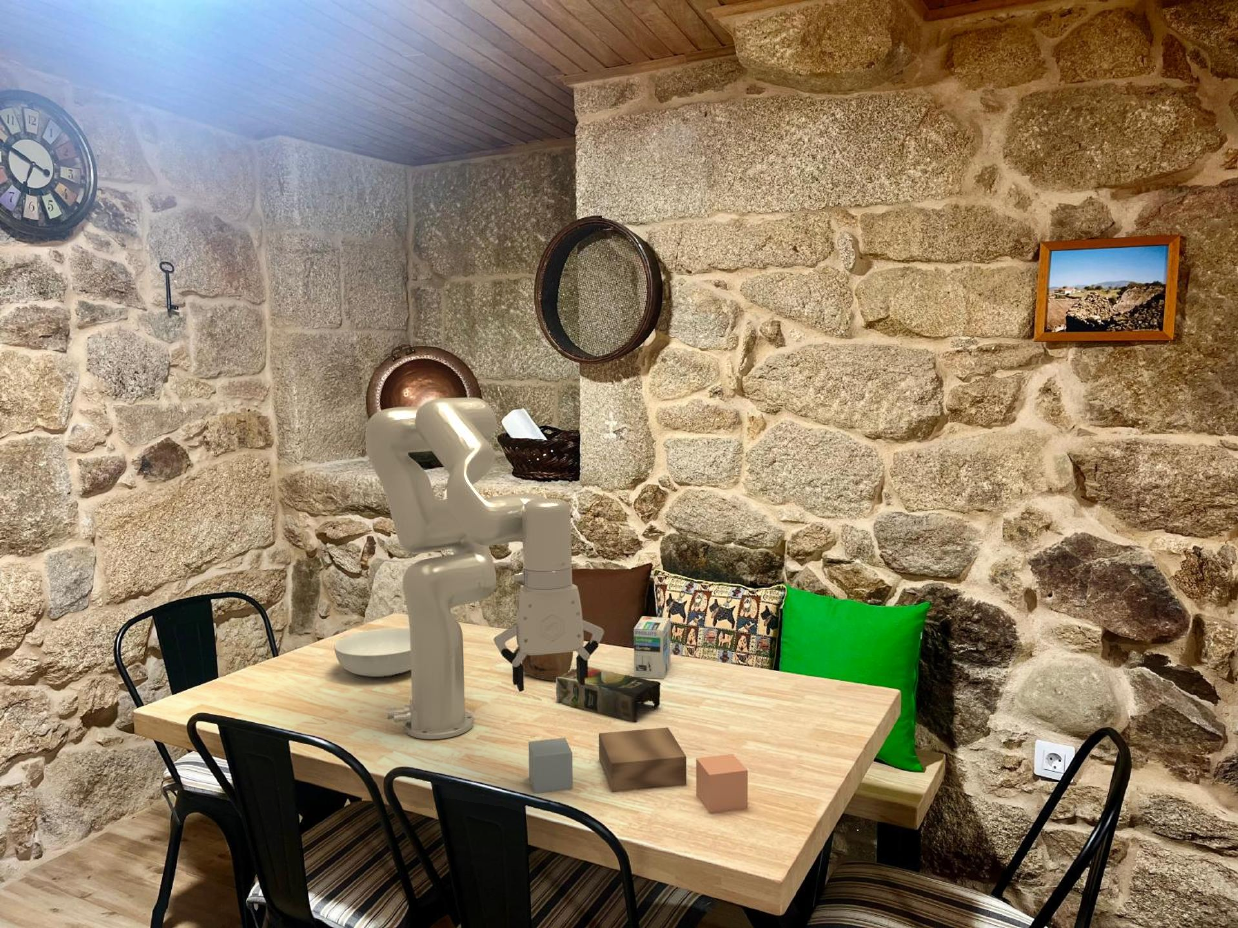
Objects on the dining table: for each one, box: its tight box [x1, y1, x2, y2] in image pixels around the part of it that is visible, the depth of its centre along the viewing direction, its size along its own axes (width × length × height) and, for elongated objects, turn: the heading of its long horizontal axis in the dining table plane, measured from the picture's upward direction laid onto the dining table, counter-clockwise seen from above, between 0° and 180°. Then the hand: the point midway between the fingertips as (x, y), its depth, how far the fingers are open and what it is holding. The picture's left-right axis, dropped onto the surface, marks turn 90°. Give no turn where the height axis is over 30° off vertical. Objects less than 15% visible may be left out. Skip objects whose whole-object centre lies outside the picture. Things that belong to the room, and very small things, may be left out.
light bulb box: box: [633, 615, 672, 680], centre depth 196 cm, size 11×7×11 cm, turn 168°
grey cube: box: [528, 737, 574, 794], centre depth 143 cm, size 6×6×6 cm
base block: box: [598, 727, 687, 793], centre depth 146 cm, size 12×12×5 cm
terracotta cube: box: [695, 753, 749, 814], centre depth 136 cm, size 6×6×6 cm
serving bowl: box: [333, 627, 411, 678], centre depth 198 cm, size 21×21×7 cm
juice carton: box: [555, 666, 661, 724], centre depth 176 cm, size 20×10×6 cm, turn 55°
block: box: [521, 651, 574, 681], centre depth 193 cm, size 11×8×20 cm
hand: (550, 685), depth 141 cm, fingers open, 9 cm apart
